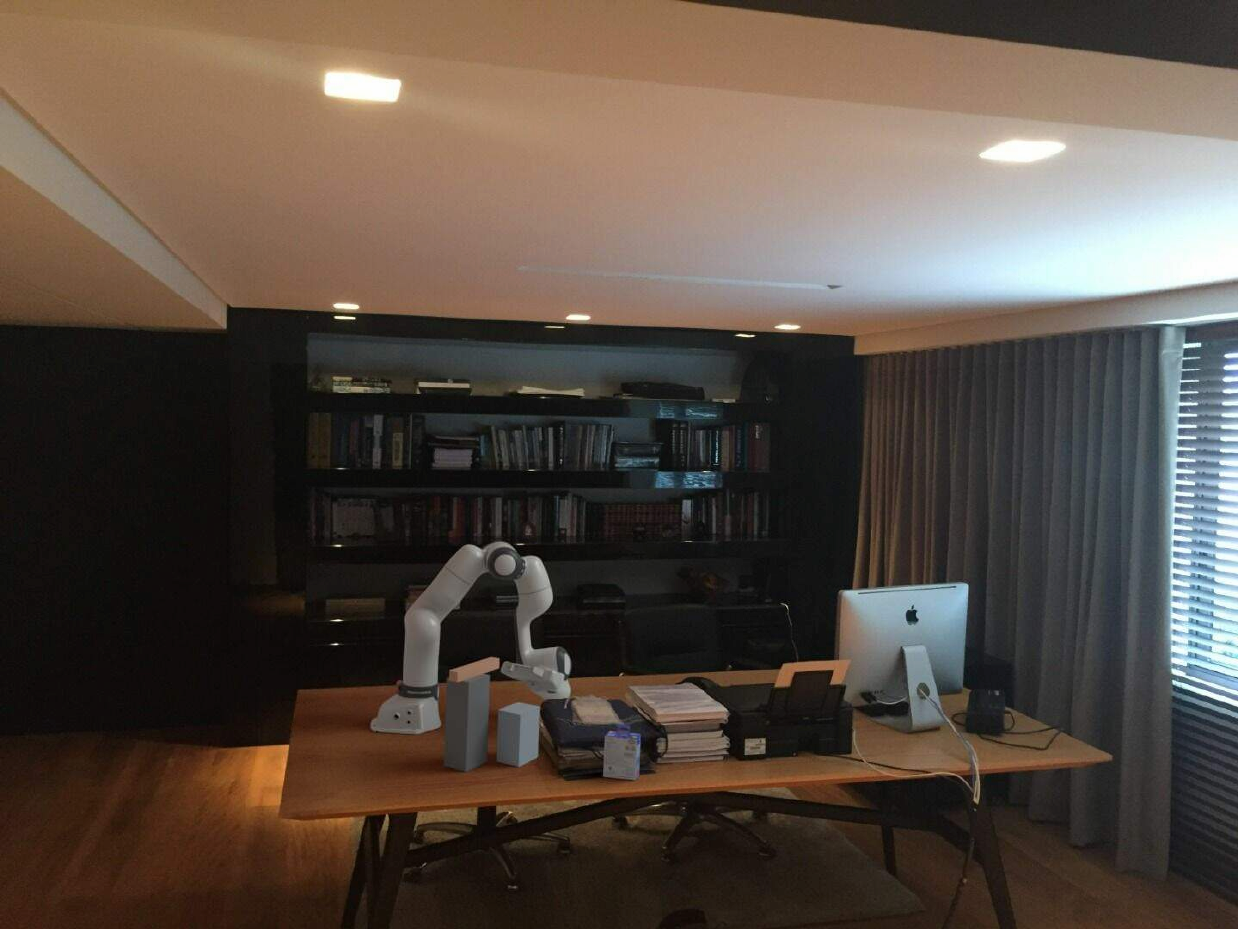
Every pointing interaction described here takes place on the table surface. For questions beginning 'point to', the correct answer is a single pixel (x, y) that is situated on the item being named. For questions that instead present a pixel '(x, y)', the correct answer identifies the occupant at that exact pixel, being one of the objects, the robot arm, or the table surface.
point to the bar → (473, 669)
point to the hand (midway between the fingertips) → (519, 666)
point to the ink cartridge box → (622, 754)
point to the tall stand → (467, 723)
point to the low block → (518, 734)
